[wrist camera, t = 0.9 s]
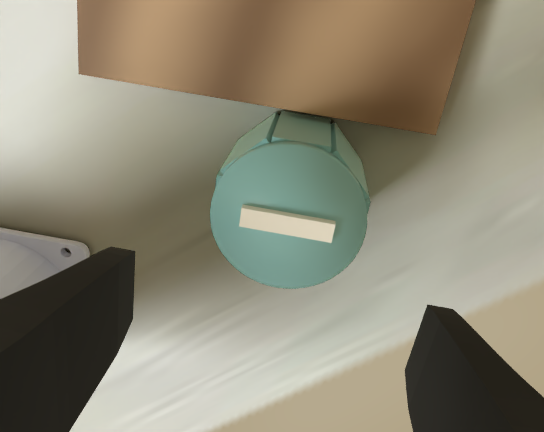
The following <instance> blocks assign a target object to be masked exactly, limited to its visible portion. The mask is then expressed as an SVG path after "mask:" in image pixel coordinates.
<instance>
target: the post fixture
mask: <svg viewBox="0 0 544 432" xmlns="http://www.w3.org/2000/svg"><path fill="white" fill-rule="evenodd" d="M475 2H476V0H77V14H78V62H79V74H82V75H88V76H94V77H99V78H105V79H111V80H117V81H123V82H129V83H135V84H140V85H146V86H152V87H158V88H164V89H170V90H175V91H181V92H187V93H193V94H199V95H205V96H210V97H216V98H222V99H228V100H234V101H240V102H246V103H251V104H257V105H263V106H269V107H275V108H281V109H286V110H292V111H298V112H304V113H310V114H316V115H321V116H327V117H333V118H339V119H345V120H351V121H357V122H362V123H368V124H374V125H380V126H386V127H392V128H397V129H403V130H409V131H415V132H421V133H427V134H432V135H436V132H437V129H438V126H439V122H440V119H441V116H442V112H443V109H444V106H445V102H446V99H447V96H448V92H449V89H450V86H451V82H452V79H453V75H454V72H455V69H456V65H457V62H458V59H459V55H460V52H461V49H462V45H463V42H464V39H465V35H466V32H467V29H468V25H469V22H470V19H471V15H472V12H473V9H474V5H475Z"/></svg>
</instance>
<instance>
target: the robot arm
mask: <svg viewBox="0 0 544 432" xmlns="http://www.w3.org/2000/svg"><path fill="white" fill-rule="evenodd" d="M65 248H68V249H69V250H70V251H71V253H68V252H66V251H65ZM134 270H135V251H131V250H126V249H121V248H115V247H109V248H107V249H105V250H102V251H100V252H98V253H96V254H94V255H92V256H90V252H89V249H88V247H87V246H86V245H85V244H84V243H81V242H77V241H72V240H66V239H61V238H55V237H50V236H44V235H39V234H33V233H28V232H22V231H17V230H11V229H6V228H0V432H69V431H70V429H71V428H72V426H73V425H74V423H75V421H76V420H77V418H78V417H79V415H80V413H81V412H82V410H83V409H84V407H85V405H86V404H87V402H88V401H89V399H90V397H91V396H92V394H93V393H94V391H95V389H96V388H97V386H98V384H99V383H100V381H101V380H102V378H103V376H104V375H105V373H106V372H107V370H108V368H109V367H110V365H111V363H112V362H113V360H114V358H115V357H116V355H117V353H118V351H119V349H120V347H121V345H122V342H123V340H124V338H125V336H126V334H127V331H128V329H129V327H130V324H131V322H132V320H133V298H134ZM405 377H406V390H407V400H408V409H409V414H410V419H411V423H412V428H413V432H544V398H543V397H542V395H540V394H539V393H538V392H537V391H536V390H535V389H534V388H533V387H532V386H530V385H529V384H528V383H527V382H526V381H525V380H524V379H523V378H522V377H521V376H520V375H518V373H517V372H515V371H514V370H513V369H512V368H511V367H510V366H509V365H508V364H507V363H506V362H505V361H504V360H503V359H502V358H501V357H500V356H499V355H498V354H497V353H496V352H495V351H494V350H493V349H492V348H491V347H490V346H489V345H488V344H487V343H486V342H485V340H484V339H483V338H482V337H481V336H480V335H479V334H478V333H477V332H476V331H475V330H474V329H473V328H472V327H471V326H470V325H469V324H468V323H467V322H466V321H465V320H464V319H463V318H462V317H461V316H460V315H459V314H458V313H457V312H455V311H454V310H453V309H449V308H443V307H438V306H432V305H427V308H426V311H425V313H424V316H423V319H422V322H421V325H420V328H419V331H418V334H417V336H416V339H415V342H414V345H413V348H412V351H411V354H410V357H409V360H408V362H407V365H406V368H405Z"/></svg>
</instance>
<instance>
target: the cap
mask: <svg viewBox="0 0 544 432" xmlns="http://www.w3.org/2000/svg"><path fill="white" fill-rule="evenodd" d="M369 206H370V198H369V193H368V188H367V183H366V179H365V174H364V170H363V165H362V161H361V159H360V158H359V156H358V155H357V153H356V152H355V150H354V149H353V147H352V146H351V145H350V143H349V142H348V140H347V139H346V137H345V136H344V134H343V133H342V131H341V130H340V129H339V127H338V126H337V124H336V123H335V122H334V123H332V124H331V123H330V119H328V118H322V117H316V116H310V115H304V114H299V113H293V112H287V111H281V114H280V116H279V115H278V113H277V112H276V113H274V114H273V115H271V116H270V117H269V118H267V119H266V120H264V121H263V122H262V123H260V124H259V125H258V126H256V127H255V128H253V129H252V130H251V131H249V132H248V133H246V134H245V135H244V136H242V137H241V138H239V139H238V141H237V142H236V144H235V146H234V147H233V149H232V151H231V152H230V154H229V156H228V157H227V159H226V161H225V162H224V164H223V166H222V167H221V169H220V171H219V172H218V174H217V177H216V186H215V191H214V194H213V197H212V201H211V207H210V222H211V229H212V232H213V236H214V239H215V241H216V244H217V245H218V247H219V249H220V251H221V252H222V254H223V255H224V256H225V258H226V259H227V260H228V261H229V262H230V263H231V264H232V266H233V267H235V268H236V269H237V270H238V271H240V272H241V273H242V274H244V275H245V276H247V277H249V278H251V279H253V280H255V281H257V282H259V283H262V284H265V285H268V286H272V287H277V288H286V289H296V288H305V287H310V286H314V285H317V284H320V283H323V282H325V281H327V280H329V279H331V278H333V277H334V276H336V275H337V274H339V273H340V272H341V271H343V270H344V269H345V268H346V267H347V266H348V265H349V264H350V263H351V262H352V261H353V259H354V258H355V256H356V255H357V253H358V252H359V250H360V248H361V246H362V243H363V240H364V237H365V234H366V228H367V214H368V210H369Z"/></svg>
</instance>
